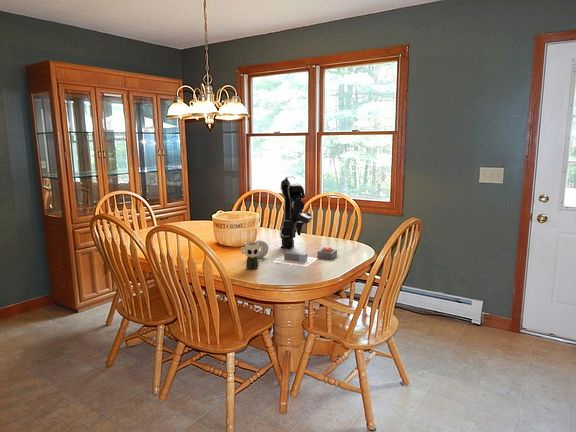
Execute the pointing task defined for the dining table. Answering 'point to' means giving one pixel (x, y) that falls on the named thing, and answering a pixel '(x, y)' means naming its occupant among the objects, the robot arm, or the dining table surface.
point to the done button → (327, 249)
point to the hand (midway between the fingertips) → (295, 237)
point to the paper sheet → (289, 262)
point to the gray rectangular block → (295, 256)
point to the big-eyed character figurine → (252, 254)
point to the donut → (265, 248)
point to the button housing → (326, 254)
